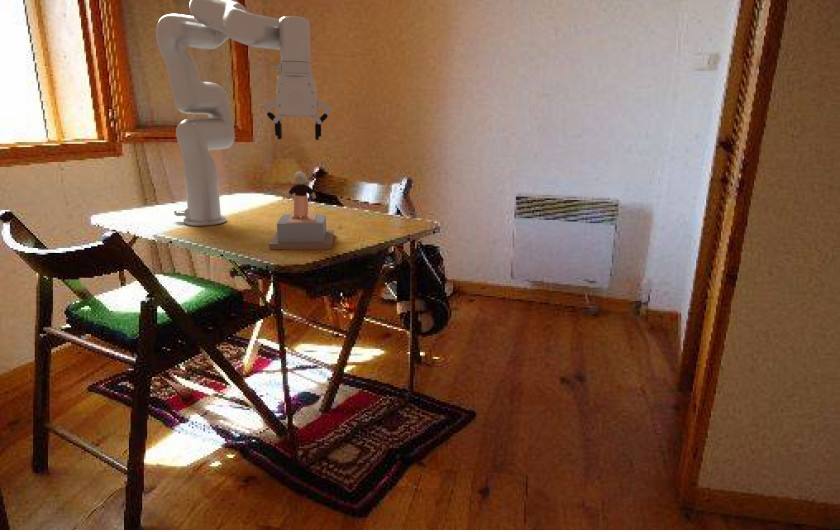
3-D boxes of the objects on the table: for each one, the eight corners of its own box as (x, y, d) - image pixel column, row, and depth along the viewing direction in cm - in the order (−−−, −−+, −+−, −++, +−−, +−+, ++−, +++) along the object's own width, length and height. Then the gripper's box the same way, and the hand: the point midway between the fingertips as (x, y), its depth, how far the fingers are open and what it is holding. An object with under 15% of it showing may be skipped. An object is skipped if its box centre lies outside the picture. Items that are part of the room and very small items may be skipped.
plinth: (269, 249, 141) (267, 224, 139) (278, 235, 156) (276, 212, 154) (331, 249, 143) (330, 224, 141) (333, 234, 158) (333, 212, 156)
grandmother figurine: (288, 220, 145) (286, 172, 141) (287, 217, 148) (285, 170, 145) (317, 218, 147) (316, 172, 144) (315, 216, 151) (314, 170, 147)
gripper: (258, 68, 132) (262, 139, 137) (329, 70, 134) (331, 141, 139) (263, 69, 139) (267, 137, 144) (331, 72, 141) (332, 139, 146)
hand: (298, 139), depth 142 cm, fingers open, 9 cm apart
